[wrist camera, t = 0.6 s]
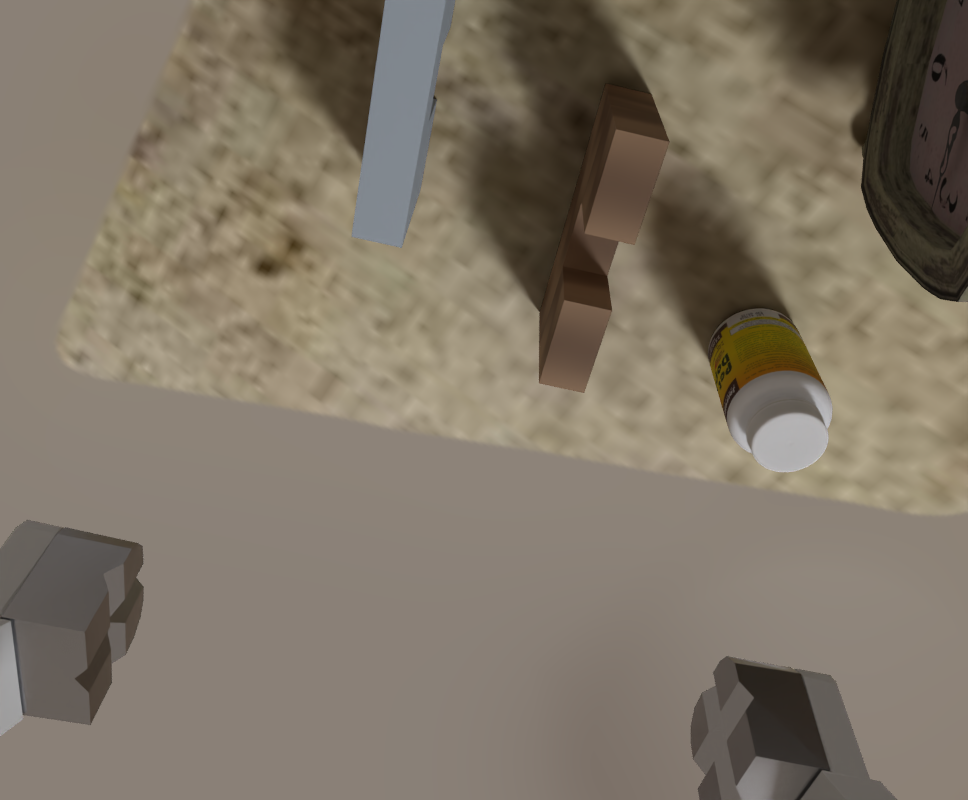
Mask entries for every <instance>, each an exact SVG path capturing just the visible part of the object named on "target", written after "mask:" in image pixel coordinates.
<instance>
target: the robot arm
mask: <svg viewBox="0 0 968 800" xmlns="http://www.w3.org/2000/svg"><path fill="white" fill-rule="evenodd" d="M142 565H143V546H142V545H140V544H139V543H135V542H130V541H125V540H121V539H116V538H112V537H107V536H103V535H98V534H93V533H89V532H84V531H80V530H75V529H70V528H66V527H65V528H64V527H59V526H54V525H50V524H45V523H40V522H35V521H31V520H26V521H25V522H23V523H22V524H20V525H19V526H17V527H16V528H15V529H14V531H13V532H12V533H11V535H10V536H9V537H8V539H7V540H6V542H5V543H4V544H3V546H2V547H1V548H0V736H1V735H2V734H4V733H5V732H6V731H8V730H9V729H10V728H12V727H13V726H14V725H16V724H17V723H18V722H20V721H21V720H22V719H23V715H27V716H34V717H41V718H47V719H55V720H61V721H68V722H74V723H81V724H88V725H91V723H92V721H93V719H94V717H95V715H96V713H97V711H98V709H99V707H100V705H101V703H102V701H103V699H104V697H105V695H106V693H107V691H108V689H109V687H110V685H111V683H112V663H113V662H115V661H116V660H118V659H120V658H121V657H123V656H124V655H126V653H127V651H128V649H129V647H130V644H131V643H132V640H133V638H134V636H135V633H136V630H137V626H138V623H139V620H140V617H141V612H142V606H143V594H144V592H143V590H144V587H143V586H142V584H141V583H140V582H139V581H138V579H137V578H136V577H137V575H138V573H139V571H140V569H141V567H142ZM713 674H714V679H715V684H716V686H714V687H712V688H710V689H709V690H706V691H704V692H702V694H701V696H700V698H699V700H698V702H697V704H696V706H695V708H694V713H693V718H692V723H691V748H692V754H693V760H694V761H695V762H696V763H697V764H698V766H699V767H700V768H701V770H702V771H703V772H704V774H705V775H706V776H705V777H704V779H703V781H702V783H701V784H700V786H699V788H698V792H699V799H700V800H897V799H896V798H895V797H894V796H893V795H892V793H891V792H890V791H888V789H887V788H886V787H885V786H884V785H883V784H882V783H881V782H880V781H876V780H871V779H870V778H869V775H868V772H867V770H866V767H865V764H864V761H863V758H862V755H861V752H860V749H859V746H858V743H857V740H856V738H855V735H854V732H853V729H852V726H851V723H850V721H849V718H848V715H847V712H846V709H845V706H844V703H843V700H842V697H841V694H840V692H839V689H838V686H837V683H836V681H835V680H834V679H833V678H832V677H831V676H830V675H827V674H821V673H816V672H811V671H805V670H800V669H792V668H791V667H785V666H779V665H774V664H768V663H763V662H757V661H752V660H746V659H741V658H735V657H729V656H726V657H725V658H723V659H722V660H721V661H720V662H719V664H718V665H717V667H716V669H715V671H714V672H713Z"/></svg>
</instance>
